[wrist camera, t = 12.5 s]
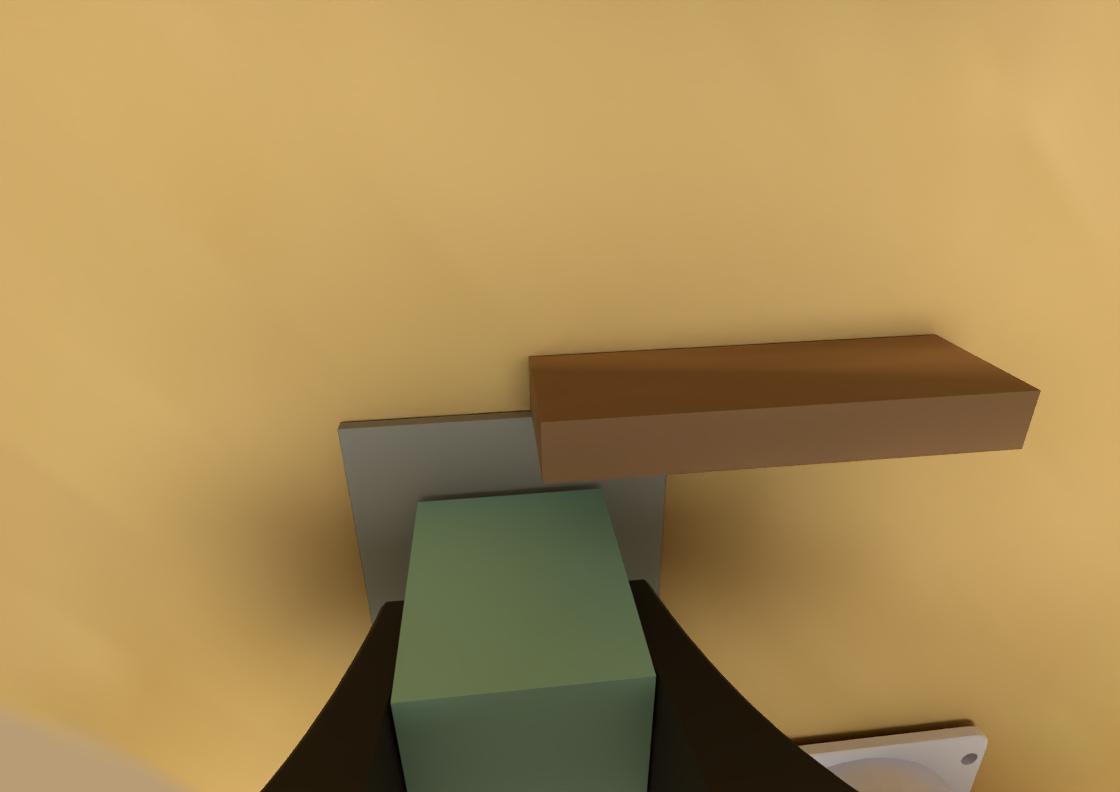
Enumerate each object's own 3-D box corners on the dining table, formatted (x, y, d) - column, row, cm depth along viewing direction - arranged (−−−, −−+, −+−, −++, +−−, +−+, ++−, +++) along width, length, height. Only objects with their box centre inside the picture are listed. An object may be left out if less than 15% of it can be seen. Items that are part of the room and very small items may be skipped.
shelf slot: (923, 384, 15) (1022, 448, 12) (530, 409, 14) (542, 483, 11) (1055, -165, 11) (1246, -251, 8) (508, -178, 10) (519, -277, 7)
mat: (652, 640, 17) (655, 649, 17) (383, 666, 17) (381, 676, 16) (666, 402, 14) (670, 408, 14) (340, 422, 14) (337, 429, 14)
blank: (601, 488, 15) (655, 675, 10) (597, 650, 17) (640, 861, 12) (417, 502, 14) (390, 703, 10) (439, 665, 16) (425, 889, 12)
